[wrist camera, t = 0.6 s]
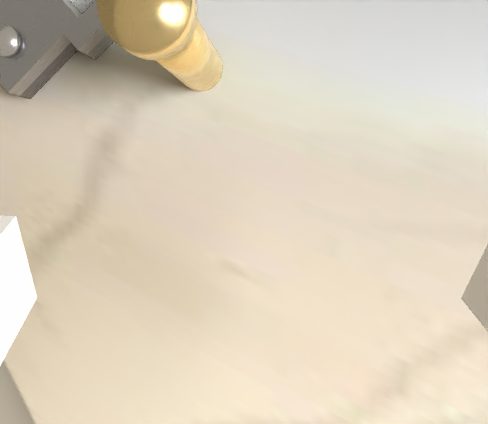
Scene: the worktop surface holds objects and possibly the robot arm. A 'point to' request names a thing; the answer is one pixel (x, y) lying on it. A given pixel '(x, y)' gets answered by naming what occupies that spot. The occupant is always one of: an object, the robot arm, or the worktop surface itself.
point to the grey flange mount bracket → (44, 41)
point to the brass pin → (164, 37)
